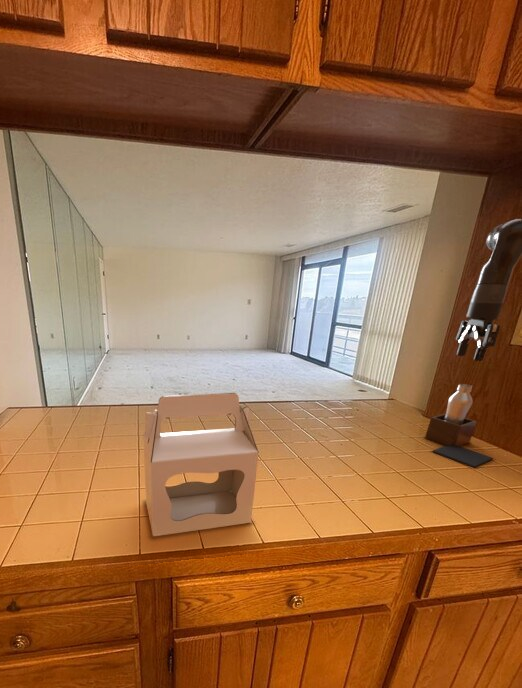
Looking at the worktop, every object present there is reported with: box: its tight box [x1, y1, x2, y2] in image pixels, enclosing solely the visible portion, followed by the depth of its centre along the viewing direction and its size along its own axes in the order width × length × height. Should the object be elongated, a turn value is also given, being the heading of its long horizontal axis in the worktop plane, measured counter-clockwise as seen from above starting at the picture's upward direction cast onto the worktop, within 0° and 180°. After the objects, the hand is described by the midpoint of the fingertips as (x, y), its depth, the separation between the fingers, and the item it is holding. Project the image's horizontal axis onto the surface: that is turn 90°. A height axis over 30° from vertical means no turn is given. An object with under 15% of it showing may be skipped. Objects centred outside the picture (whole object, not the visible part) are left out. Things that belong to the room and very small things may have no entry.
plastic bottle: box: [444, 383, 474, 425], centre depth 118 cm, size 6×7×20 cm
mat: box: [432, 445, 494, 469], centre depth 111 cm, size 12×12×1 cm
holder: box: [424, 412, 478, 447], centre depth 121 cm, size 11×10×8 cm
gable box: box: [142, 392, 259, 537], centre depth 74 cm, size 22×13×28 cm, turn 104°
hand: (468, 358), depth 106 cm, fingers open, 8 cm apart
